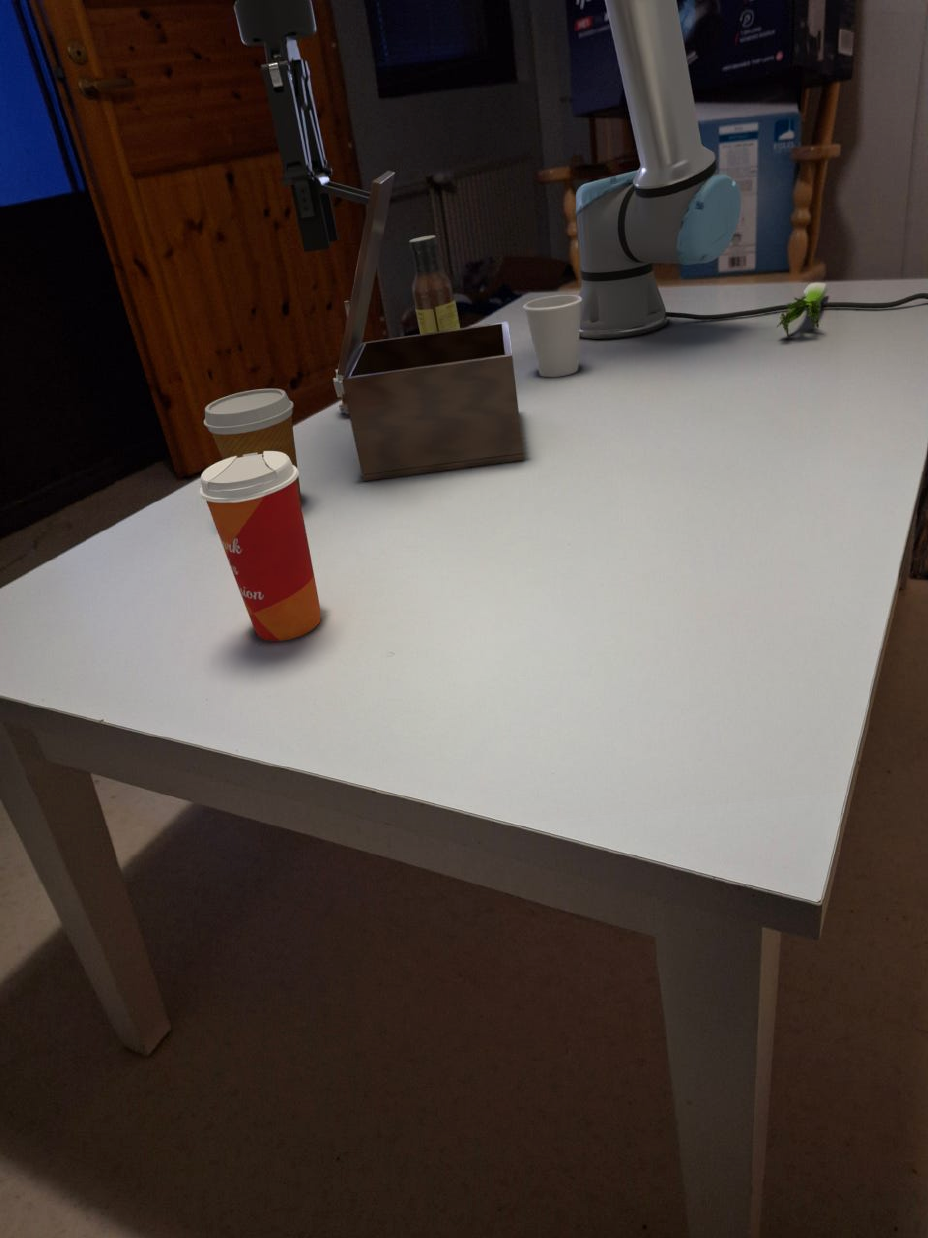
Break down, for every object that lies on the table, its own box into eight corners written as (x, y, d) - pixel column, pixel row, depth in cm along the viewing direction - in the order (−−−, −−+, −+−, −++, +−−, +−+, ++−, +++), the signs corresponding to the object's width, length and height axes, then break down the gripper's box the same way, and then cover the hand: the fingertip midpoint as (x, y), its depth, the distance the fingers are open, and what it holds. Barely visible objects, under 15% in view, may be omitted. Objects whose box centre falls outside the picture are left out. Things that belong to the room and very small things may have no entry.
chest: (518, 414, 117) (507, 321, 111) (524, 460, 101) (512, 355, 96) (378, 433, 118) (360, 342, 112) (363, 481, 103) (341, 379, 97)
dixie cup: (594, 362, 133) (589, 292, 128) (577, 378, 127) (571, 306, 122) (541, 364, 137) (534, 296, 132) (522, 380, 130) (514, 309, 126)
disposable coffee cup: (330, 489, 102) (306, 385, 96) (290, 524, 95) (261, 413, 89) (258, 489, 106) (231, 389, 100) (214, 523, 98) (182, 417, 92)
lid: (394, 172, 103) (323, 152, 102) (380, 183, 88) (296, 159, 87) (362, 339, 112) (297, 322, 111) (344, 376, 97) (268, 356, 96)
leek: (838, 306, 149) (824, 337, 125) (793, 314, 152) (771, 346, 128) (835, 267, 147) (820, 292, 122) (790, 276, 150) (767, 302, 125)
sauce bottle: (468, 364, 143) (449, 230, 134) (465, 374, 138) (445, 236, 128) (428, 369, 144) (407, 237, 135) (423, 379, 139) (400, 243, 129)
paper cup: (249, 609, 79) (203, 457, 72) (335, 595, 79) (298, 442, 72) (236, 655, 72) (185, 493, 65) (331, 640, 72) (290, 475, 65)
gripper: (254, 9, 96) (303, 239, 107) (208, -13, 79) (271, 263, 91) (322, -3, 95) (364, 230, 107) (290, -27, 79) (344, 252, 90)
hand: (322, 245), depth 99 cm, fingers closed on lid, 6 cm apart
